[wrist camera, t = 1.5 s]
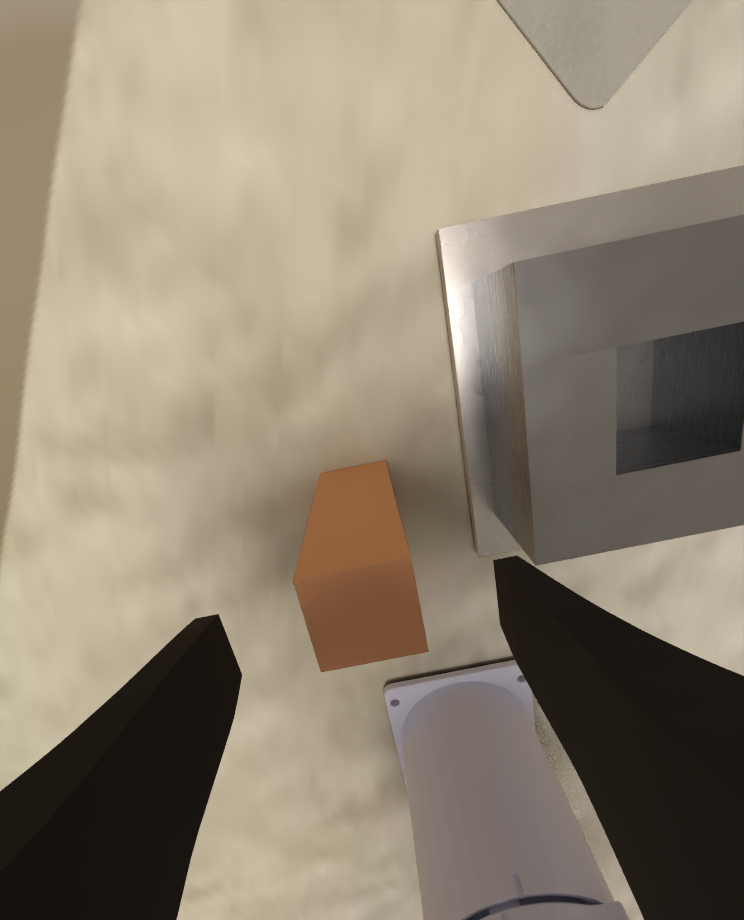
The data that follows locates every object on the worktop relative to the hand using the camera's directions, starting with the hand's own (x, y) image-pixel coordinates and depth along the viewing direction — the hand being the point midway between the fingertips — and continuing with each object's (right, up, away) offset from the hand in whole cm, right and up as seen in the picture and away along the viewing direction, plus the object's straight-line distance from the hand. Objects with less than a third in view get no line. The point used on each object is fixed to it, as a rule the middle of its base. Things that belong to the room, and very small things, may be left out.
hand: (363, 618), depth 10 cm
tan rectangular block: (0, +2, +8) cm, 8 cm away
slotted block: (+10, +7, +7) cm, 14 cm away
